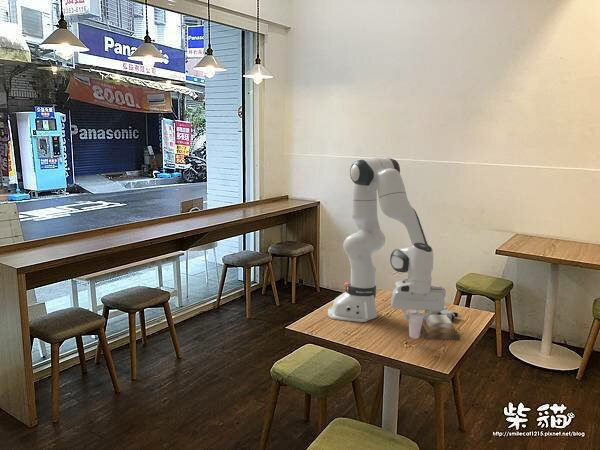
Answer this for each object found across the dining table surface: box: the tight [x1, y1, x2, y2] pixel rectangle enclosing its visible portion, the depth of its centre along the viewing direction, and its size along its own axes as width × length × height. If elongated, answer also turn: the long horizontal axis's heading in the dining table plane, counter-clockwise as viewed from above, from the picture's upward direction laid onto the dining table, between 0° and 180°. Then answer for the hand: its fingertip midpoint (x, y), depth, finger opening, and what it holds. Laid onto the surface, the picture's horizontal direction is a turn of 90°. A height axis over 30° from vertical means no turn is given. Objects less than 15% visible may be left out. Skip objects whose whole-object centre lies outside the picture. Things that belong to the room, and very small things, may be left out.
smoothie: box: [407, 309, 426, 339], centre depth 192 cm, size 6×6×14 cm
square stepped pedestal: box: [420, 313, 460, 341], centre depth 207 cm, size 14×14×6 cm
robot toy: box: [423, 305, 462, 322], centre depth 224 cm, size 12×4×15 cm
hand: (415, 319), depth 192 cm, fingers closed on smoothie, 6 cm apart
